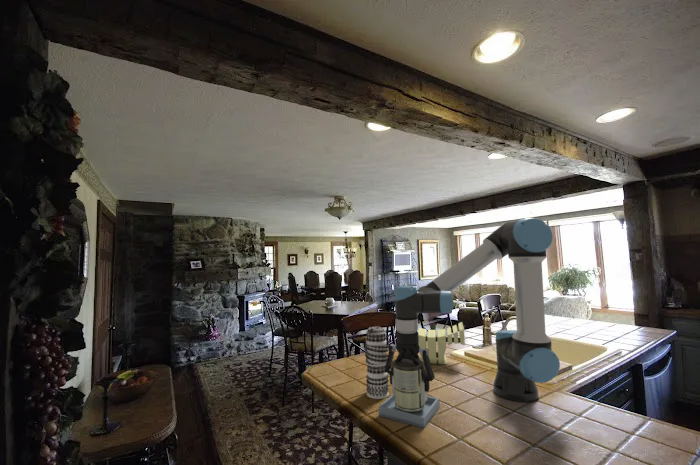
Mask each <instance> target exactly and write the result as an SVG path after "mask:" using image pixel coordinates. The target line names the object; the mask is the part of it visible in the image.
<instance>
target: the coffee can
mask: <svg viewBox="0 0 700 465" xmlns="http://www.w3.org/2000/svg"><path fill="white" fill-rule="evenodd" d="M395 361H396V359H393V361H392V367H393V370H394V395H395V406H396V407H397V408H398V409H400V410H403V411H408V412H415V411H420V410H422V409H423V408H424V407H425V403H423V402H422V381H423V378H422V376H421V369H422V368H423V366H424V363H423V362H422V361H421V360H420V361H421V364H420V365H419V366H418V365H415V363H414V362H413V361H412V360H409V359H402V360H401V361H400V362H395Z"/></svg>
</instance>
